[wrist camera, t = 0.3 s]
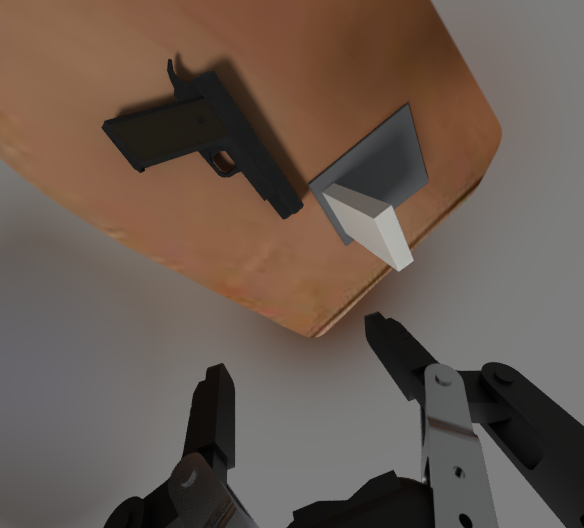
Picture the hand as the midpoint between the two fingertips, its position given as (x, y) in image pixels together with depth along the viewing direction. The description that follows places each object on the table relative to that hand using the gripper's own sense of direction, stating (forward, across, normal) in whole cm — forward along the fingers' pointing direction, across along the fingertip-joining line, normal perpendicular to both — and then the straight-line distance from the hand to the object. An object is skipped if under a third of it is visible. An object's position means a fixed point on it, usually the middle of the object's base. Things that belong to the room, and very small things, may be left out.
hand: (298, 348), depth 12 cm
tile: (+22, -12, +1) cm, 25 cm away
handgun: (+22, +3, -8) cm, 23 cm away
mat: (+23, -18, -2) cm, 29 cm away
